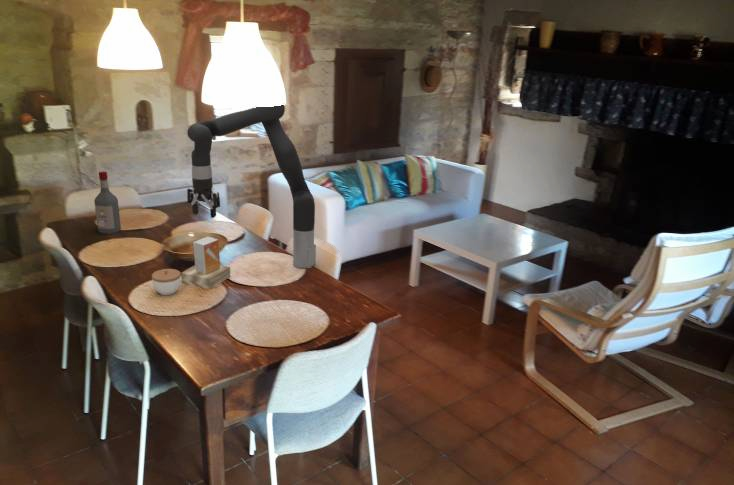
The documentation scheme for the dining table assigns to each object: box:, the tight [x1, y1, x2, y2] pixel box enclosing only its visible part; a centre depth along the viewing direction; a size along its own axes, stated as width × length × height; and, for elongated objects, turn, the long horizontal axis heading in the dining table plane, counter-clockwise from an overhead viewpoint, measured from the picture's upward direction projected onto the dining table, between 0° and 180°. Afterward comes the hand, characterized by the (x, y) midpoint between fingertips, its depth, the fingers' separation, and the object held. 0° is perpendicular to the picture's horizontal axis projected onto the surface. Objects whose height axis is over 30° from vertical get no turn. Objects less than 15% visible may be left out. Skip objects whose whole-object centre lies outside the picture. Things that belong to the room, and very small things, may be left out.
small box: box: [192, 236, 221, 275], centre depth 235 cm, size 8×6×13 cm
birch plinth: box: [180, 264, 231, 290], centre depth 239 cm, size 14×14×5 cm
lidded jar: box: [151, 268, 182, 296], centre depth 226 cm, size 11×11×9 cm
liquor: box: [93, 171, 122, 235], centre depth 283 cm, size 9×9×30 cm
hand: (204, 215), depth 230 cm, fingers open, 8 cm apart
